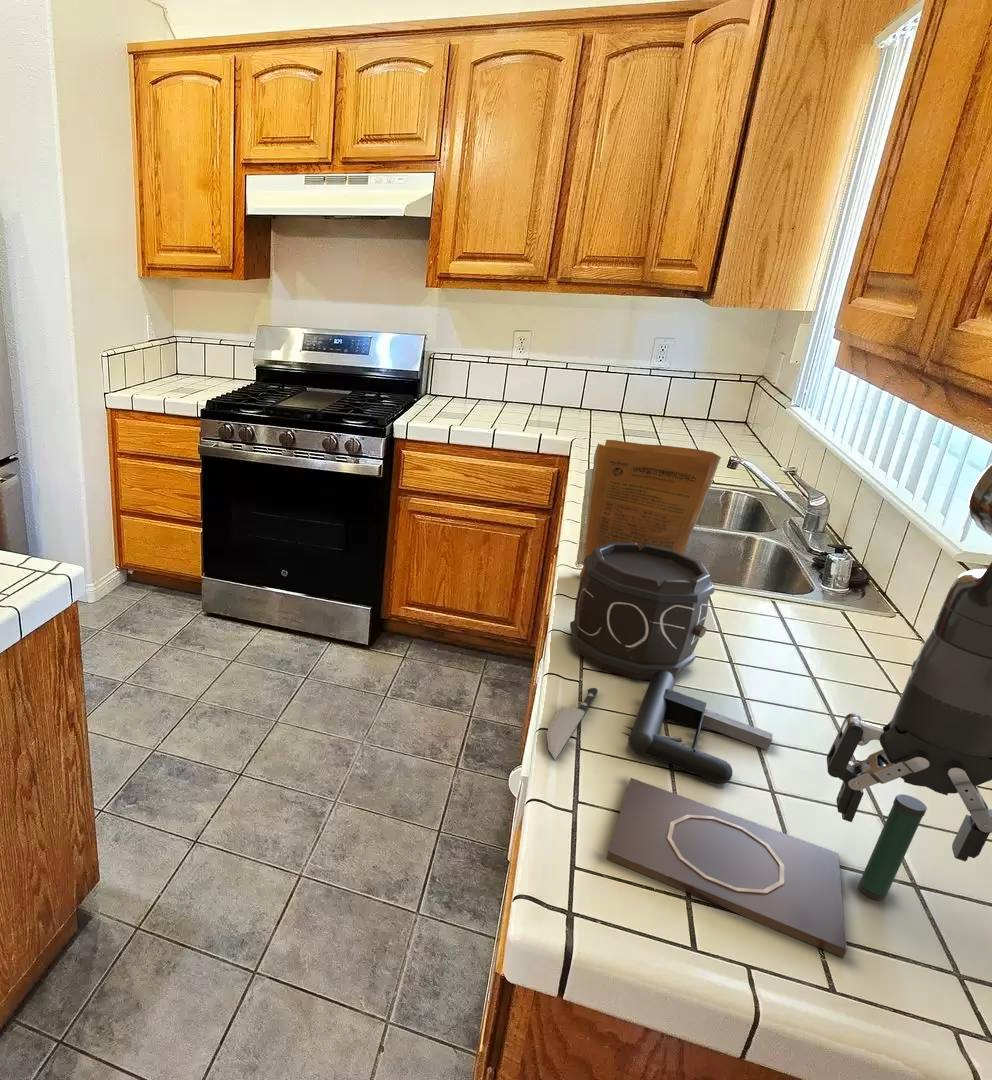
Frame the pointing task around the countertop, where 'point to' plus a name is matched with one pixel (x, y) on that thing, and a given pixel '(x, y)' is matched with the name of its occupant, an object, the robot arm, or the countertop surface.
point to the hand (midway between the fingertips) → (900, 835)
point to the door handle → (691, 714)
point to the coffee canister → (640, 609)
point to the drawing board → (732, 864)
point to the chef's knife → (567, 723)
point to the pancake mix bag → (646, 494)
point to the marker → (891, 846)
